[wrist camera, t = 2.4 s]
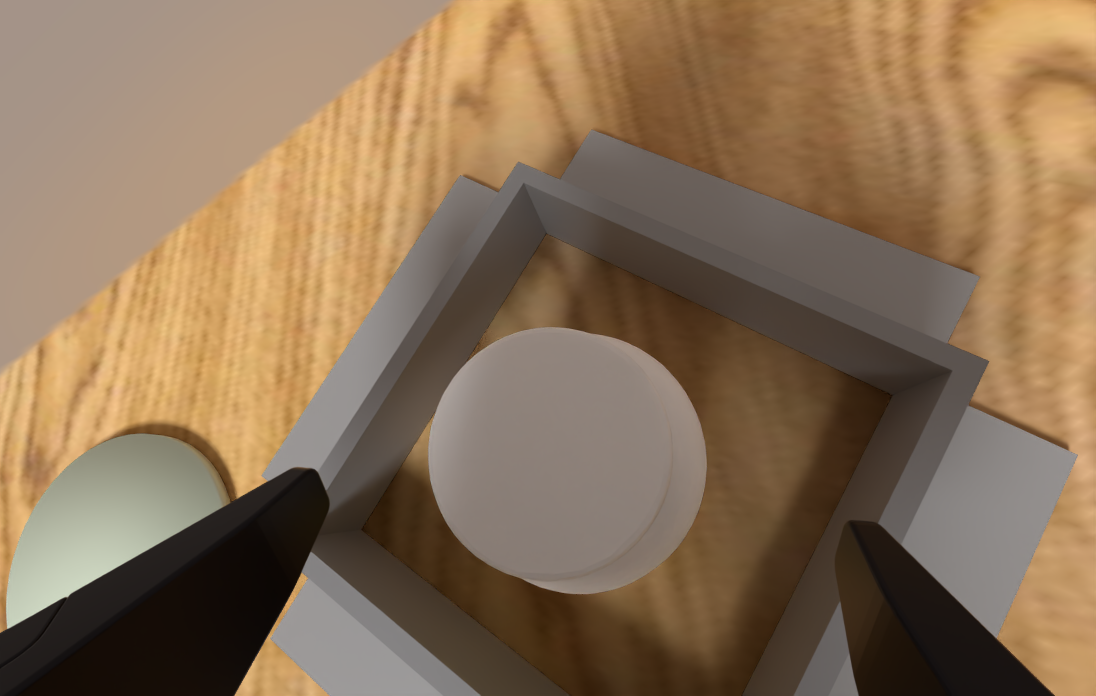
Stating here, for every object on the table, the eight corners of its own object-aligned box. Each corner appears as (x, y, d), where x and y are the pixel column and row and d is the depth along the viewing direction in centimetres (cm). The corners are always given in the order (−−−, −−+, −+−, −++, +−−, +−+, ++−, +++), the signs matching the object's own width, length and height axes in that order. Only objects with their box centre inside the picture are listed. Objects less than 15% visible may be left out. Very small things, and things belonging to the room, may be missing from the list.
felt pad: (119, 775, 18) (104, 782, 18) (-20, 600, 21) (-35, 603, 21) (283, 521, 19) (273, 522, 19) (129, 392, 22) (117, 389, 22)
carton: (776, 1112, 12) (818, 1338, 9) (205, 569, 19) (112, 585, 16) (1123, 337, 15) (1250, 294, 12) (512, 103, 22) (486, 36, 19)
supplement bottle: (505, 430, 18) (347, 370, 9) (641, 361, 18) (620, 225, 9) (570, 582, 17) (454, 698, 7) (723, 508, 16) (805, 534, 7)
